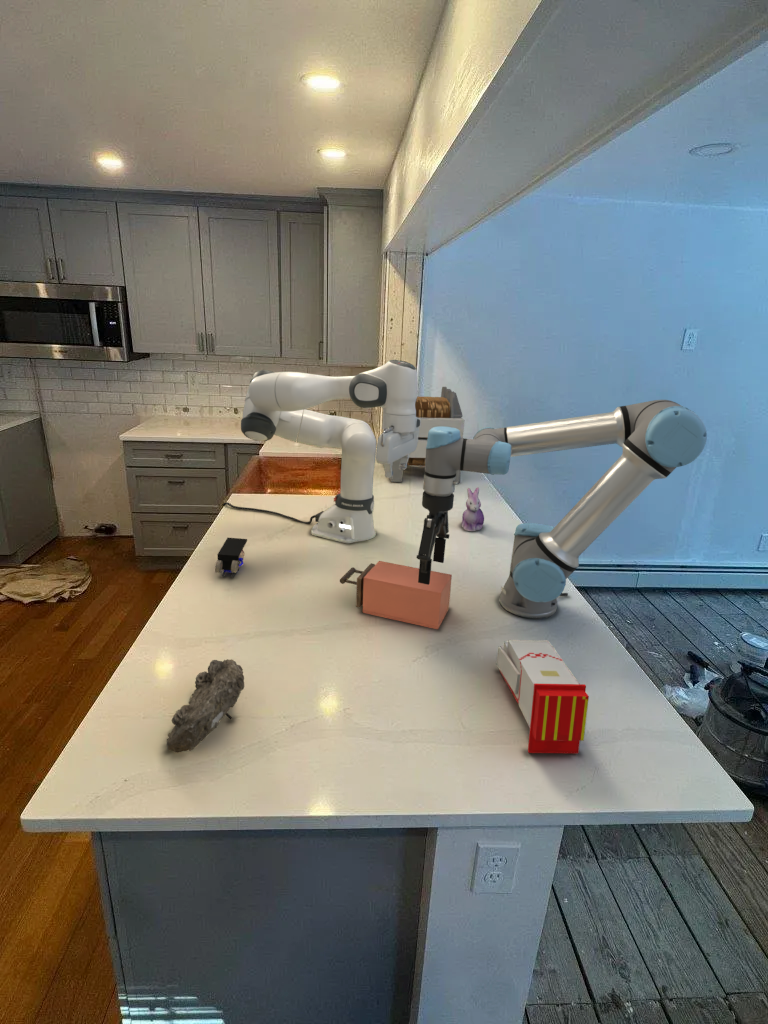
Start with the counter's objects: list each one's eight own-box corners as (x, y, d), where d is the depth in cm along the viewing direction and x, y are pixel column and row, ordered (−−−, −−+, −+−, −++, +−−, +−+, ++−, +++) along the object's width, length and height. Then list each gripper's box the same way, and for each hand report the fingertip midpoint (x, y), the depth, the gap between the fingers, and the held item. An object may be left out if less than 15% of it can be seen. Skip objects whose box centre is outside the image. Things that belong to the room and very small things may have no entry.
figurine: (470, 533, 202) (474, 493, 197) (453, 524, 211) (457, 485, 206) (491, 530, 207) (495, 491, 202) (474, 520, 215) (478, 483, 210)
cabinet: (362, 612, 147) (363, 577, 144) (377, 594, 157) (379, 560, 154) (437, 629, 141) (441, 593, 138) (448, 609, 151) (451, 574, 148)
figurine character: (238, 584, 162) (249, 557, 175) (236, 562, 158) (247, 536, 172) (215, 584, 161) (227, 556, 175) (212, 561, 158) (225, 535, 171)
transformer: (382, 463, 289) (386, 382, 275) (445, 464, 293) (451, 384, 279) (390, 482, 257) (394, 392, 243) (460, 483, 261) (468, 394, 247)
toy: (545, 623, 127) (598, 692, 98) (539, 677, 130) (590, 761, 101) (491, 622, 127) (529, 691, 98) (487, 677, 130) (522, 760, 100)
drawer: (337, 602, 150) (337, 574, 147) (352, 586, 159) (352, 559, 156) (426, 622, 142) (428, 592, 140) (436, 604, 151) (439, 576, 148)
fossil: (192, 660, 117) (244, 628, 112) (224, 691, 120) (276, 661, 115) (142, 746, 98) (202, 712, 93) (182, 779, 101) (242, 748, 96)
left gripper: (393, 431, 141) (390, 484, 146) (423, 419, 159) (420, 466, 164) (371, 428, 144) (368, 480, 148) (402, 416, 161) (400, 463, 166)
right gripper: (440, 510, 124) (432, 596, 131) (465, 481, 146) (457, 556, 153) (407, 504, 126) (401, 589, 133) (436, 476, 148) (430, 551, 155)
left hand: (396, 473), depth 156 cm, fingers open, 8 cm apart
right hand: (431, 572), depth 143 cm, fingers open, 13 cm apart
